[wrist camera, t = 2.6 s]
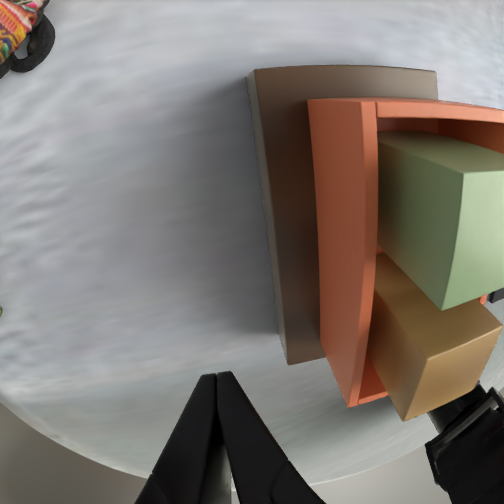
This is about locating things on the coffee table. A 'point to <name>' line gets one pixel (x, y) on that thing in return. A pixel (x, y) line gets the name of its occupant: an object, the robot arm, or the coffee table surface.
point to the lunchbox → (367, 213)
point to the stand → (306, 178)
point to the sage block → (442, 214)
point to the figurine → (24, 34)
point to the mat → (497, 295)
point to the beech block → (425, 343)
